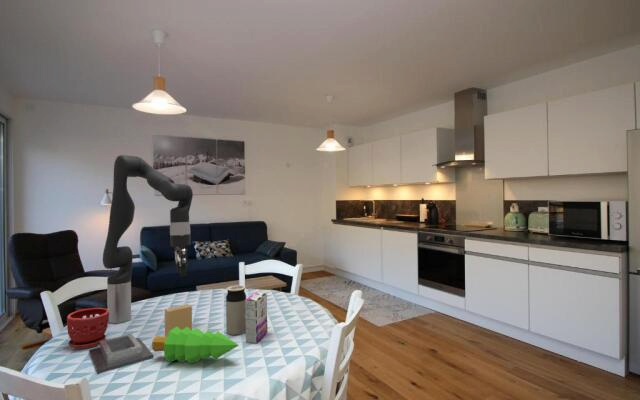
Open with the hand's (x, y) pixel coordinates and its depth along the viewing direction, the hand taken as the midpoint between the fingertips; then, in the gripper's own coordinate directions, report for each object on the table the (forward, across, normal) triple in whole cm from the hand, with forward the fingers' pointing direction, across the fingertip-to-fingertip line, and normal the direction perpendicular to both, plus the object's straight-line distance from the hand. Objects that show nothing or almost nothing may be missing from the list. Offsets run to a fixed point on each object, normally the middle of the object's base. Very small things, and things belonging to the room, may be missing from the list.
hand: (181, 274), depth 133 cm
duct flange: (+24, +5, -22) cm, 33 cm away
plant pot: (+24, -12, -32) cm, 41 cm away
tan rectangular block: (+24, +1, -2) cm, 25 cm away
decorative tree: (+26, +25, 0) cm, 36 cm away
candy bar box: (+26, +17, +24) cm, 39 cm away
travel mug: (+25, +6, +19) cm, 32 cm away
